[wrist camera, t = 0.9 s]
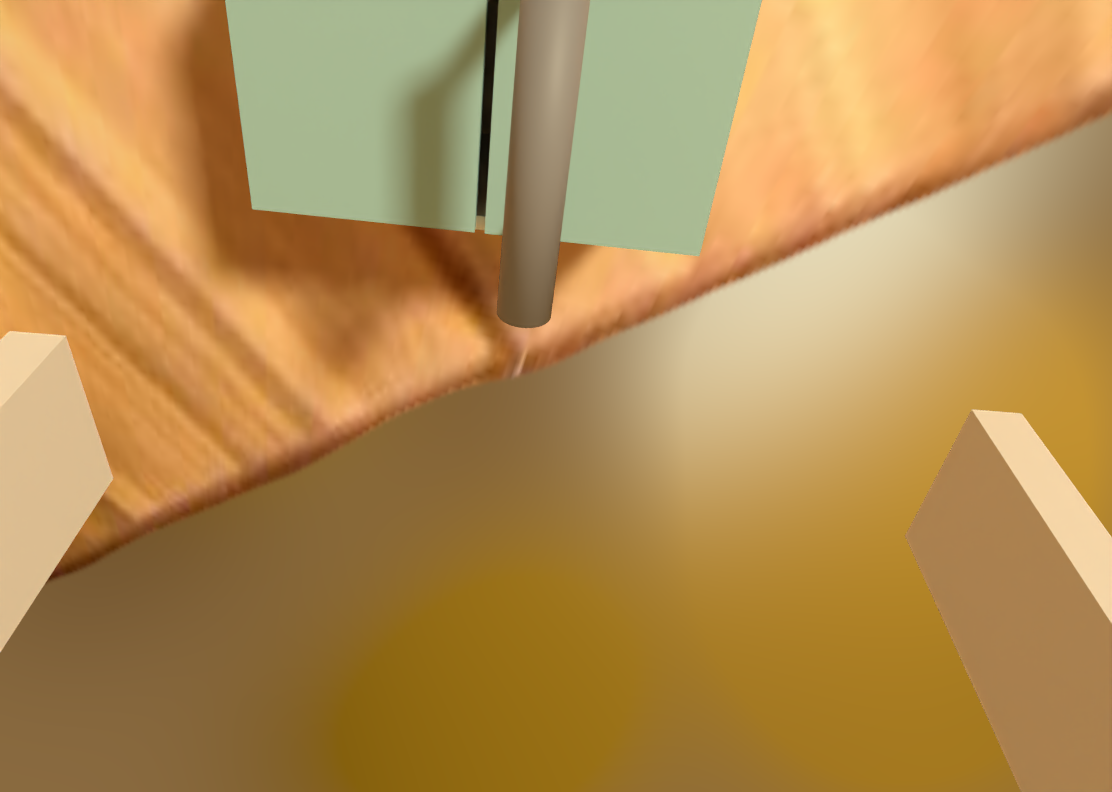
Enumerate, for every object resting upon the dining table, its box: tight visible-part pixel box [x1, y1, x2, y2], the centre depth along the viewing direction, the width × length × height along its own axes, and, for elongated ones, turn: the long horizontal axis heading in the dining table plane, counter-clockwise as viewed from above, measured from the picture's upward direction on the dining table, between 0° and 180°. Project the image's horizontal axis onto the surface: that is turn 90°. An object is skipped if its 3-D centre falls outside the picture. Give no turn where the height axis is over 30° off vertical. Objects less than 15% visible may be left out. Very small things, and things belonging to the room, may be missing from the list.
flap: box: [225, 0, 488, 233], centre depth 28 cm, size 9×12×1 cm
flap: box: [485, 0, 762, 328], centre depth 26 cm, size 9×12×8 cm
